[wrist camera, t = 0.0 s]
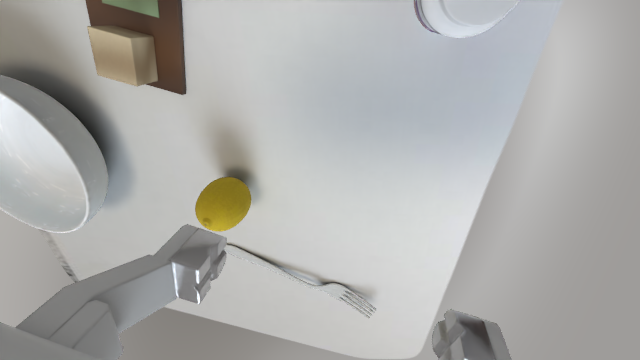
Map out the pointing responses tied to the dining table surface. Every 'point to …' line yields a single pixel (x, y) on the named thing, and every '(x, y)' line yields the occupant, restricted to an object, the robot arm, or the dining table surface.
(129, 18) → the word board
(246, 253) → the fork
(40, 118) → the serving bowl
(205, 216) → the lemon
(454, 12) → the pill bottle
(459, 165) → the dining table surface
